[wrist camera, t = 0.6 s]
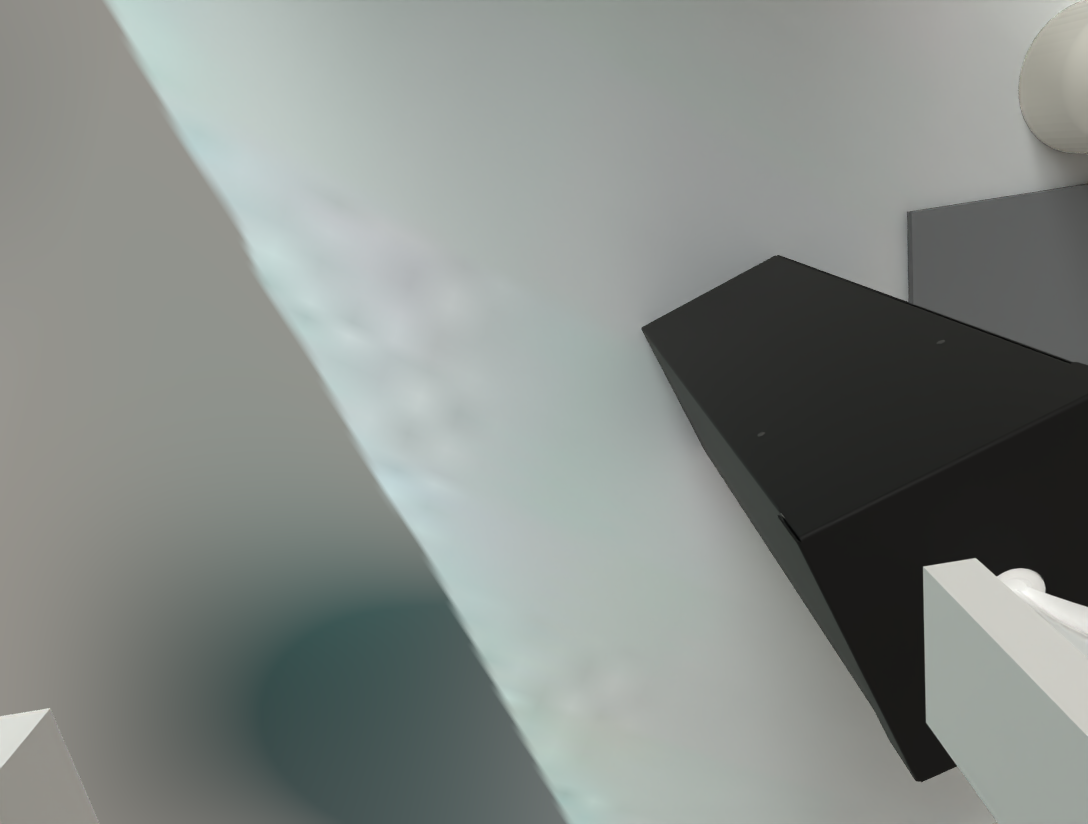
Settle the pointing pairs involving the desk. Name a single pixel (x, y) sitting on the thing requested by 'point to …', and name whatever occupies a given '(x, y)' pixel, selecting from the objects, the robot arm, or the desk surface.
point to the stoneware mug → (1058, 81)
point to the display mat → (1008, 267)
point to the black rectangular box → (886, 462)
